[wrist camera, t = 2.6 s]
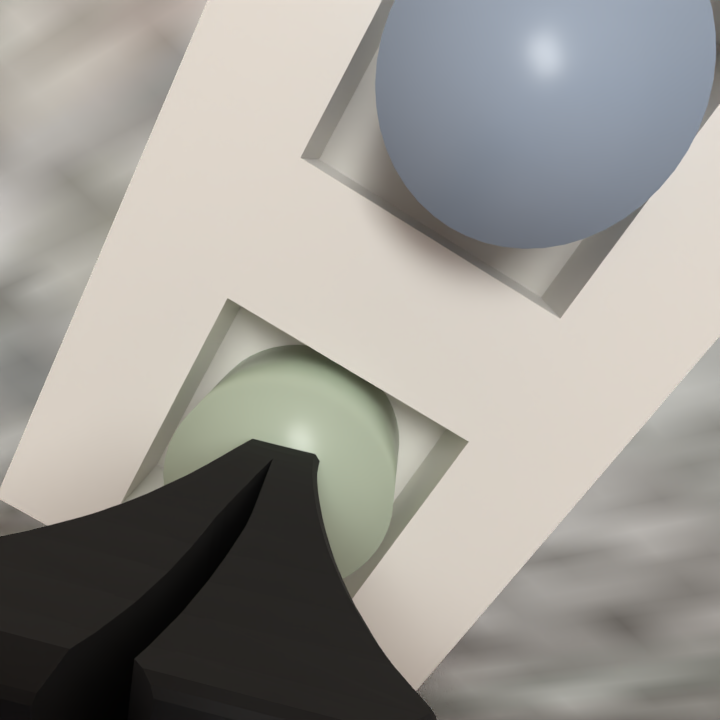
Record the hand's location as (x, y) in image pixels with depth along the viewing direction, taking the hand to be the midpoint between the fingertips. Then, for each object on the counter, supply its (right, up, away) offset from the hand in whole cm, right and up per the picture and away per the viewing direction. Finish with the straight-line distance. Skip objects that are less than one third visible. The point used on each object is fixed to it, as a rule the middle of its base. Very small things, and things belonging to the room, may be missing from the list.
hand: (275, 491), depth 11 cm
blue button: (+4, +7, -1) cm, 8 cm away
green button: (0, +1, +2) cm, 2 cm away
